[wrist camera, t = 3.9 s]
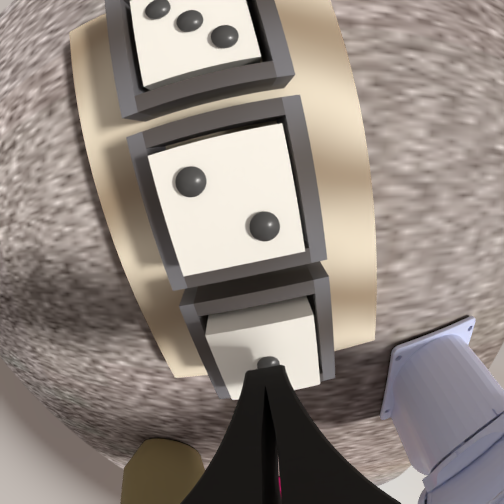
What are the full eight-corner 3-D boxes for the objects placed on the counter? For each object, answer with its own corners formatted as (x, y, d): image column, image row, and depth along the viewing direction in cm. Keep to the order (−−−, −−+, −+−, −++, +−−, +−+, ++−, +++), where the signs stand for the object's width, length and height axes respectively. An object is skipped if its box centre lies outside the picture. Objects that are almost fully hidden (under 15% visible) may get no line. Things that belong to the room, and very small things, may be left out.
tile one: (311, 355, 13) (321, 386, 11) (232, 370, 13) (232, 402, 11) (303, 287, 12) (314, 317, 10) (210, 306, 12) (204, 338, 10)
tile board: (365, 325, 16) (390, 368, 13) (179, 361, 17) (168, 409, 13) (310, -18, 9) (331, -58, 5) (83, 39, 9) (41, 19, 6)
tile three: (257, 70, 9) (261, 55, 7) (159, 94, 10) (142, 85, 8) (237, -6, 8) (237, -31, 6) (145, 18, 8) (128, -1, 6)
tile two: (294, 231, 11) (306, 253, 9) (192, 253, 11) (182, 278, 9) (274, 126, 9) (283, 123, 7) (165, 152, 9) (145, 156, 7)
